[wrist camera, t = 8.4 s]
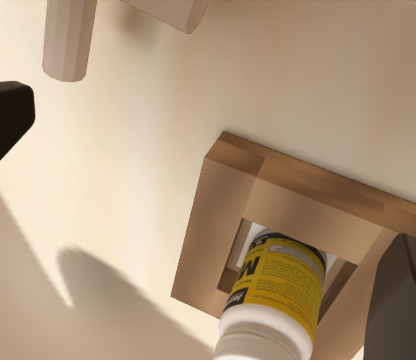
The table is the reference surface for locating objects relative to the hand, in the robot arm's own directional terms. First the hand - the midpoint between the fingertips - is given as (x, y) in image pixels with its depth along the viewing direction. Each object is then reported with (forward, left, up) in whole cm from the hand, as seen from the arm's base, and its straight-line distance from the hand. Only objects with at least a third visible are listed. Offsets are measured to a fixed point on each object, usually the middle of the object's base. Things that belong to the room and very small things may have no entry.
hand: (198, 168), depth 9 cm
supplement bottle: (-4, +12, -11) cm, 17 cm away
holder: (-4, +12, -12) cm, 17 cm away
